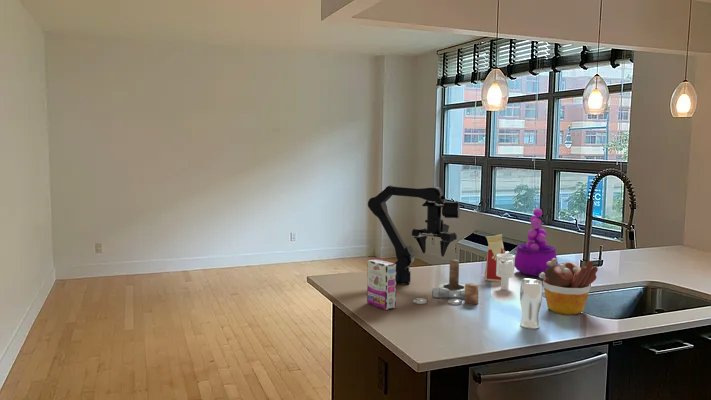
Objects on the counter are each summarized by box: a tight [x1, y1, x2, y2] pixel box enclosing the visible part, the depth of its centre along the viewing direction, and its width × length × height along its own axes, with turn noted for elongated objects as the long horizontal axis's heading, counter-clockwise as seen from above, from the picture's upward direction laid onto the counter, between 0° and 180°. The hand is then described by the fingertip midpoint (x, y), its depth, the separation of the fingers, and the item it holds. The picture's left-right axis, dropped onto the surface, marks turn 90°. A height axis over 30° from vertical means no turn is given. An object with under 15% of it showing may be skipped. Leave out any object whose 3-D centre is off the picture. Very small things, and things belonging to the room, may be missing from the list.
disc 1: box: [412, 297, 428, 305], centre depth 209 cm, size 5×5×1 cm
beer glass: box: [519, 278, 543, 330], centre depth 183 cm, size 7×7×15 cm
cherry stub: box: [464, 282, 480, 306], centre depth 208 cm, size 5×5×7 cm
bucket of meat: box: [538, 257, 599, 316], centre depth 198 cm, size 20×16×20 cm
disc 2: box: [447, 299, 463, 306], centre depth 208 cm, size 5×5×1 cm
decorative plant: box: [514, 207, 559, 277], centre depth 249 cm, size 19×18×30 cm
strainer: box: [496, 250, 516, 291], centre depth 226 cm, size 7×7×15 cm
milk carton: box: [483, 233, 507, 283], centre depth 242 cm, size 9×9×20 cm
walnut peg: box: [448, 259, 460, 290], centre depth 218 cm, size 4×4×13 cm
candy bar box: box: [366, 258, 397, 311], centre depth 204 cm, size 11×5×16 cm, turn 37°
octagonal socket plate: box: [432, 282, 465, 300], centre depth 219 cm, size 16×12×3 cm
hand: (433, 254), depth 230 cm, fingers open, 9 cm apart
